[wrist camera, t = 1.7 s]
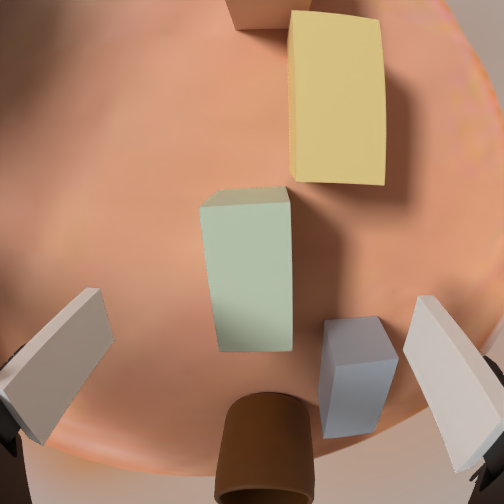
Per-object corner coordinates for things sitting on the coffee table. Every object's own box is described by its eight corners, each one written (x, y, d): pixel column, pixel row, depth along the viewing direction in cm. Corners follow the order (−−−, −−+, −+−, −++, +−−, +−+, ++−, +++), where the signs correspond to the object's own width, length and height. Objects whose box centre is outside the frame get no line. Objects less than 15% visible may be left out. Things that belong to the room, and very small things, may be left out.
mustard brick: (354, 173, 17) (384, 185, 12) (289, 171, 17) (296, 181, 12) (352, 48, 14) (378, 20, 9) (286, 43, 14) (291, 10, 9)
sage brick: (288, 304, 20) (292, 351, 15) (230, 305, 20) (219, 351, 16) (285, 185, 17) (290, 202, 13) (218, 189, 18) (198, 207, 13)
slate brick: (361, 389, 23) (373, 432, 18) (317, 393, 23) (323, 438, 18) (376, 314, 20) (398, 358, 15) (324, 318, 20) (335, 365, 16)
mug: (263, 458, 28) (259, 528, 19) (200, 440, 27) (183, 512, 18) (325, 403, 23) (337, 493, 15) (248, 377, 23) (237, 477, 14)
